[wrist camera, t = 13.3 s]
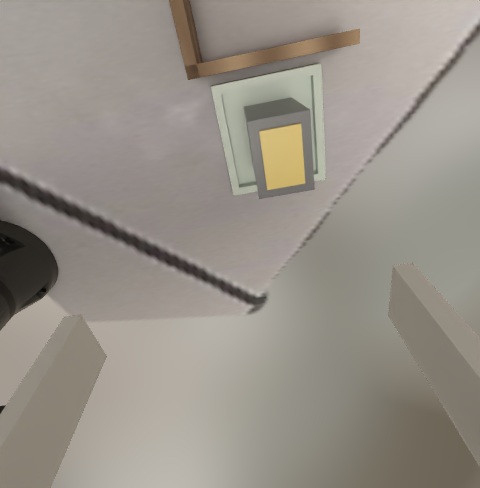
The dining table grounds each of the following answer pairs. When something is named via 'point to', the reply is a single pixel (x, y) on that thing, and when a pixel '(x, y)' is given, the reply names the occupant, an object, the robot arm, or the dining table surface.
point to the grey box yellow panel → (280, 147)
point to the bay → (200, 69)
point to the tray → (260, 91)
